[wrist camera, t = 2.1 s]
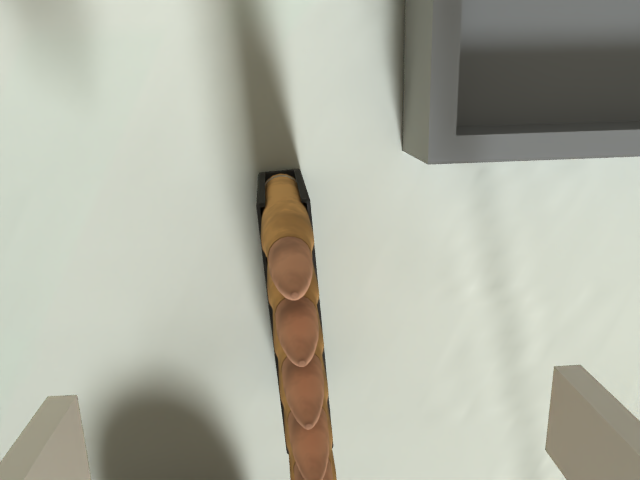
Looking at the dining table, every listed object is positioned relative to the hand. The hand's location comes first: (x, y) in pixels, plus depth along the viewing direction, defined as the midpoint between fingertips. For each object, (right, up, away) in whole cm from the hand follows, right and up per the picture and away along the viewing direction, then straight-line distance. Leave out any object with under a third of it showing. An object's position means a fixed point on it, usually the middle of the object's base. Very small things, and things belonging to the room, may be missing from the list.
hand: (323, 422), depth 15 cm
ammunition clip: (-1, +3, +10) cm, 11 cm away
